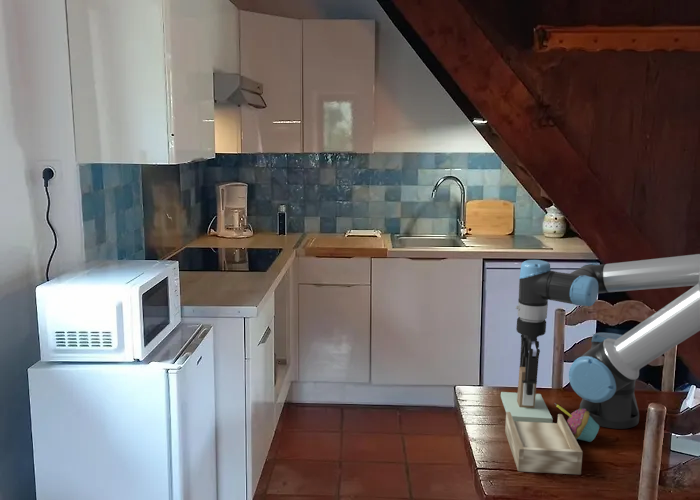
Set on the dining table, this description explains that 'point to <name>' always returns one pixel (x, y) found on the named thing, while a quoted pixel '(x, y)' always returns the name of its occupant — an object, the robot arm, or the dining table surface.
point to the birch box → (543, 446)
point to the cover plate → (526, 412)
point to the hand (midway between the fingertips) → (526, 401)
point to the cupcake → (581, 424)
